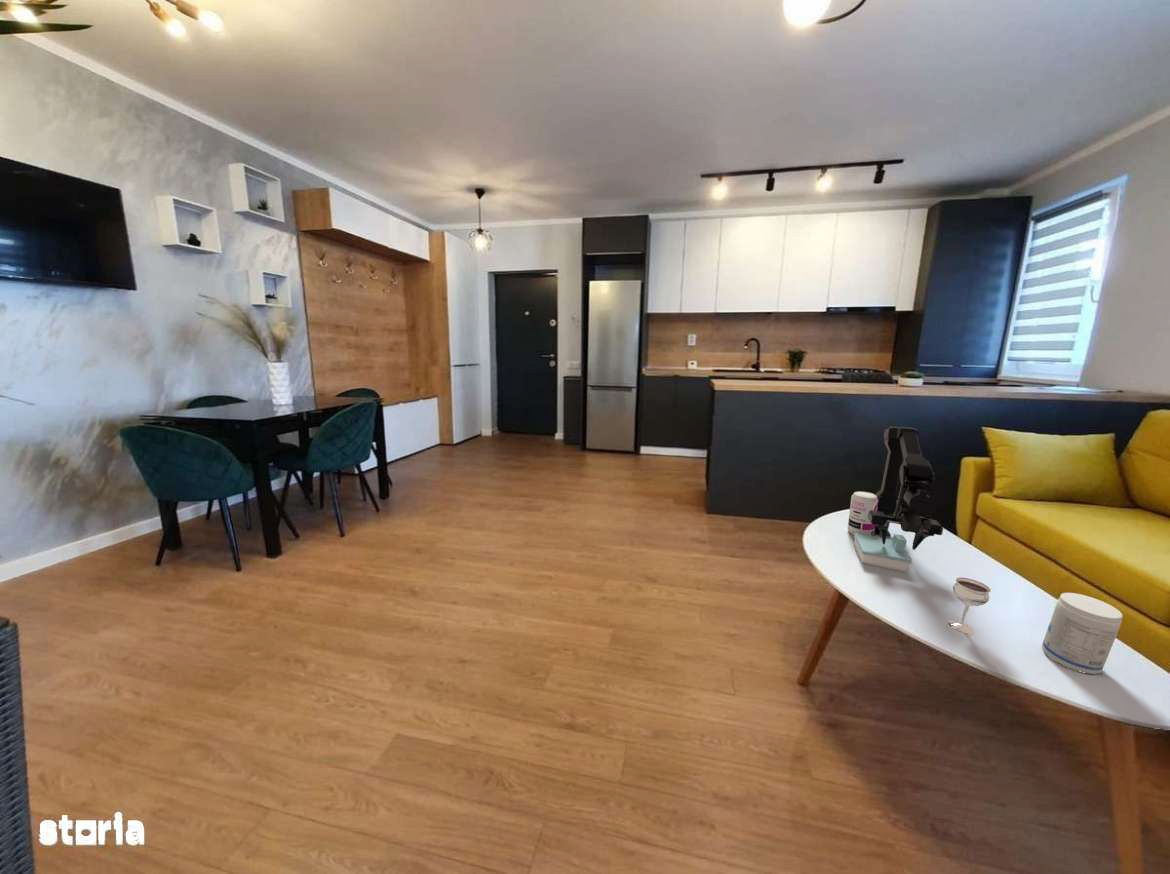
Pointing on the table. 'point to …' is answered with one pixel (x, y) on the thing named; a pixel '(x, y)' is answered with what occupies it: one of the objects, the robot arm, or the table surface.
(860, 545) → the lid
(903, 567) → the white shallow square tray
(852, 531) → the supplement can
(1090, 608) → the supplement tub
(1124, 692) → the table surface
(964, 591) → the wineglass
